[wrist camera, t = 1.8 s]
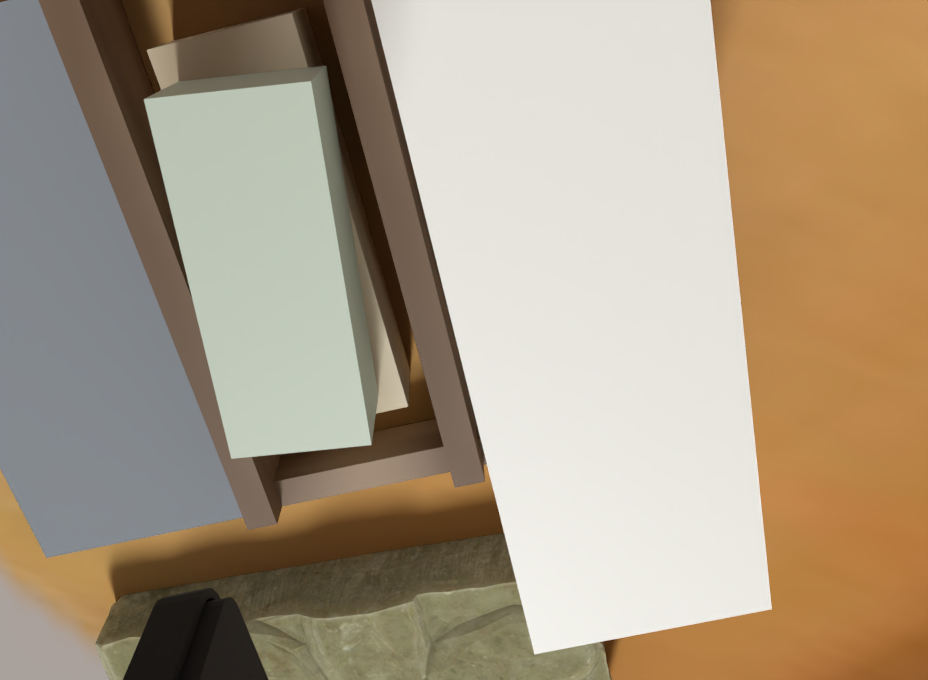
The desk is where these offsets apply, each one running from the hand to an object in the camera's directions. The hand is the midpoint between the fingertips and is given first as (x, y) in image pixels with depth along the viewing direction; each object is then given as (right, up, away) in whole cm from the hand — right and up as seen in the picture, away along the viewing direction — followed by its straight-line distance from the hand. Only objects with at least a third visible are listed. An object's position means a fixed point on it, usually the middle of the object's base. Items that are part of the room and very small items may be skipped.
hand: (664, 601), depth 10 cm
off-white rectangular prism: (0, +8, +18) cm, 20 cm away
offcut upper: (-7, +5, +16) cm, 18 cm away
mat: (-16, +4, +19) cm, 25 cm away
